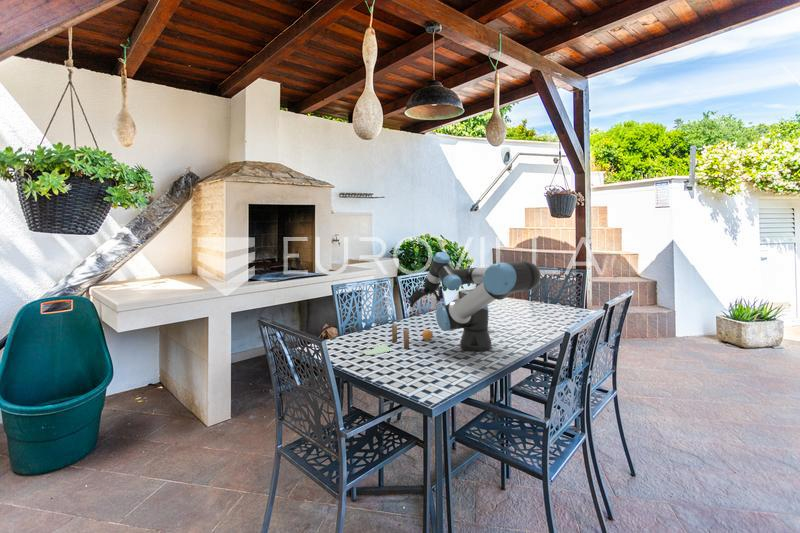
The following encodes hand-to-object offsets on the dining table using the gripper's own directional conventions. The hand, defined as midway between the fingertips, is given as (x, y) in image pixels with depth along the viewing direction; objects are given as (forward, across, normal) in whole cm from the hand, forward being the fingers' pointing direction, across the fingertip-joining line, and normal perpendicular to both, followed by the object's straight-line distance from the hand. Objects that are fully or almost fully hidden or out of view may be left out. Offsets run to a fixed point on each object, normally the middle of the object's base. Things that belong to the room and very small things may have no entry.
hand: (421, 309), depth 204 cm
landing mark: (+8, +31, +14) cm, 35 cm away
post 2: (+5, +17, +19) cm, 26 cm away
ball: (+6, +1, +13) cm, 14 cm away
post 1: (+12, +17, +9) cm, 23 cm away
